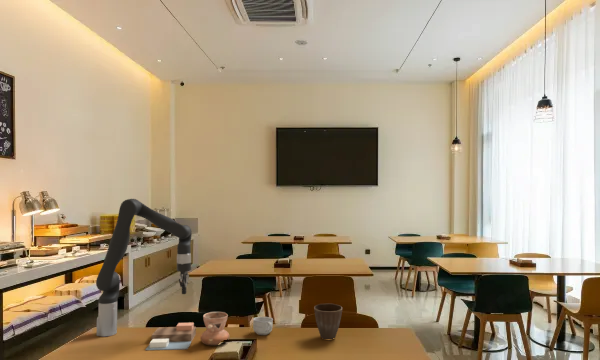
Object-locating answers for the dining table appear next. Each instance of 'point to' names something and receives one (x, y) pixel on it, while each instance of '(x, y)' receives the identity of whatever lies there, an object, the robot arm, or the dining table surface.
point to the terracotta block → (184, 326)
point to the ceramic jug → (214, 328)
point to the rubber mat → (173, 346)
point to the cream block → (159, 343)
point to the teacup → (262, 325)
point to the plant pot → (328, 319)
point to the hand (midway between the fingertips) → (184, 293)
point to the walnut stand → (174, 334)
